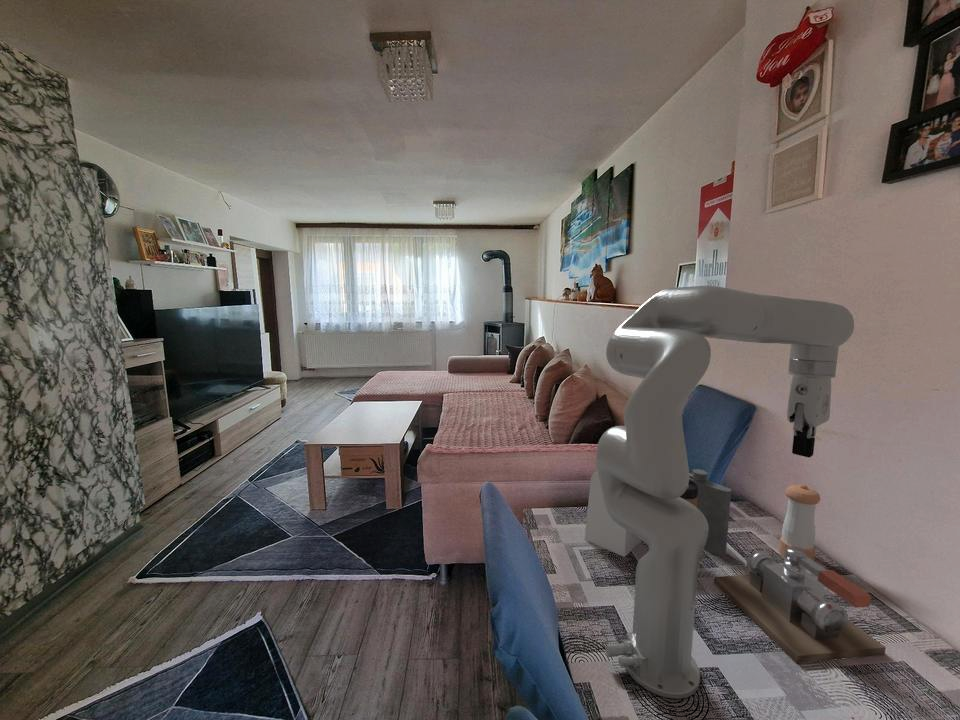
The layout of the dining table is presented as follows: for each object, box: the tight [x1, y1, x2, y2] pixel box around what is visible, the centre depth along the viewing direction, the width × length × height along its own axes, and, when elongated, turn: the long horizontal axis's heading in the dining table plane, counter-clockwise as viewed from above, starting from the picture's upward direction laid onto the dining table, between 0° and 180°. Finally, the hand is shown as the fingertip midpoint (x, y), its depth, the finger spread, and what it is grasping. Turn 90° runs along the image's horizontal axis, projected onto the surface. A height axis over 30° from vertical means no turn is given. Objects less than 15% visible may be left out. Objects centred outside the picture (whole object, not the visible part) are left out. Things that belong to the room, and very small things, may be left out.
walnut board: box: [713, 573, 886, 664], centre depth 85 cm, size 18×22×2 cm
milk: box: [584, 469, 643, 558], centre depth 112 cm, size 12×12×26 cm
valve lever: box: [785, 547, 872, 608], centre depth 78 cm, size 15×3×2 cm, turn 5°
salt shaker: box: [778, 483, 821, 562], centre depth 105 cm, size 7×7×19 cm
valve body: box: [746, 549, 849, 640], centre depth 85 cm, size 7×18×10 cm, turn 7°
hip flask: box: [689, 468, 732, 557], centre depth 112 cm, size 16×4×20 cm, turn 28°
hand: (802, 454), depth 86 cm, fingers closed
